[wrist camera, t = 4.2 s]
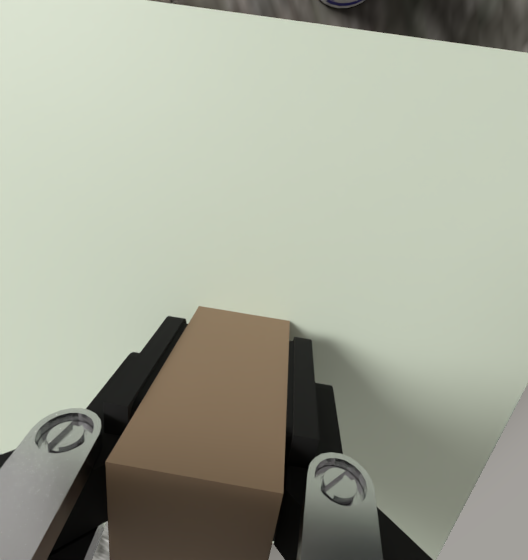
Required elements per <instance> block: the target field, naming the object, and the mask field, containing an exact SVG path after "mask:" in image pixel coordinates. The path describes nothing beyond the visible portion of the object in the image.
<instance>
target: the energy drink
mask: <svg viewBox="0 0 528 560" xmlns="http://www.w3.org/2000/svg"><path fill="white" fill-rule="evenodd" d="M321 1H322V2H323V3H325V4H327V5H329V6H331V7H335V8H349V7H353V6H356V5H358V4H360V3H362V2H364V1H365V0H321Z"/></svg>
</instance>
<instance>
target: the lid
mask: <svg viewBox="0 0 528 560" xmlns="http://www.w3.org/2000/svg"><path fill="white" fill-rule="evenodd" d="M167 316H173V317H179V318H185V319H186V322H187V324H188V325H187V327H186V328H185V330H184V332H183V333H182V335H181V337H180V338H179V340H178V342H177V343H176V345H175V347H174V348H173V350H172V352H171V353H170V355H169V357H168V358H167V360H166V362H165V363H164V365H163V367H162V368H161V370H160V372H159V373H158V375H157V377H156V378H155V380H154V382H153V383H152V385H151V387H150V388H149V390H148V392H147V393H146V395H145V397H144V398H143V400H142V402H141V403H140V405H139V407H138V408H137V410H136V412H135V413H134V415H133V417H132V418H131V420H130V422H129V423H128V425H127V427H126V428H125V430H124V432H123V433H122V435H121V437H120V438H119V440H118V442H117V443H116V445H115V447H114V448H113V450H112V452H111V453H110V455H109V457H108V458H107V460H106V462H105V465H106V487H107V509H108V530H109V552H110V560H268V559H269V554H270V550H271V545H272V543H274V541H273V537H274V533H275V528H276V524H277V519H278V515H279V511H280V506H281V502H282V498H283V491H284V464H285V437H286V410H287V383H288V356H289V340H290V341H293V339H294V337H299V338H305V339H311V340H312V349H313V362H314V375H315V383H320V384H326V385H331V386H332V387H333V391H334V397H335V404H336V411H337V417H338V424H339V431H340V437H341V444H342V451H343V455H345V456H348V457H350V458H352V459H353V460H355V461H356V462H358V463H359V464H360V465H361V466H362V467H363V468H364V469H365V470H366V471H367V473H368V474H369V476H370V478H371V479H372V482H373V486H374V489H375V497H376V505H377V507H378V508H379V509H380V510H381V511H382V512H383V513H384V514H385V515H386V516H387V517H389V518H390V519H391V520H392V521H393V522H394V523H395V524H396V525H397V526H398V527H399V528H400V529H401V530H402V531H403V532H404V533H405V534H406V535H408V536H409V537H410V538H411V539H412V540H413V541H414V542H415V543H416V544H417V545H418V546H419V547H420V548H421V549H422V550H423V551H424V552H425V553H427V554H428V555H429V556H430V557H431V558H432V559H433V560H436V559H437V557H438V555H439V554H440V551H441V550H442V548H443V546H444V544H445V542H446V540H447V538H448V536H449V534H450V532H451V530H452V528H453V527H454V524H455V522H456V521H457V519H458V517H459V515H460V513H461V511H462V509H463V507H464V505H465V503H466V501H467V500H468V498H469V496H470V494H471V492H472V490H473V488H474V486H475V484H476V482H477V480H478V478H479V477H480V474H481V473H482V471H483V469H484V467H485V465H486V463H487V461H488V459H489V457H490V455H491V453H492V452H493V449H494V448H495V446H496V444H497V442H498V440H499V438H500V436H501V434H502V432H503V430H504V428H505V426H506V424H507V422H508V421H509V419H510V417H511V415H512V413H513V411H514V409H515V407H516V405H517V403H518V401H519V400H520V398H521V396H522V394H523V392H524V390H525V388H526V386H527V384H528V53H525V52H517V51H510V50H503V49H496V48H489V47H481V46H474V45H467V44H460V43H452V42H445V41H438V40H431V39H423V38H416V37H409V36H402V35H395V34H387V33H380V32H373V31H366V30H358V29H351V28H344V27H337V26H330V25H322V24H315V23H308V22H301V21H293V20H286V19H279V18H272V17H265V16H257V15H250V14H243V13H236V12H228V11H221V10H214V9H207V8H199V7H192V6H185V5H178V4H171V3H163V2H156V1H149V0H0V453H1V454H4V453H7V452H9V451H12V450H15V449H16V448H17V447H18V445H19V444H20V443H21V442H22V440H23V439H24V438H25V437H26V435H27V434H28V433H29V431H30V430H31V429H32V428H33V427H34V426H35V425H36V424H37V423H38V422H39V421H40V420H42V419H43V418H45V417H47V416H48V415H50V414H53V413H55V412H58V411H60V410H65V409H70V408H83V409H86V408H87V407H88V405H89V404H90V403H91V402H92V400H93V399H94V398H95V397H96V395H97V394H98V393H99V392H100V390H101V389H102V388H103V387H104V385H105V384H106V383H107V381H108V380H109V379H110V378H111V376H112V375H113V374H114V373H115V371H116V370H117V369H118V368H119V366H120V365H121V364H122V363H123V361H124V360H125V359H126V358H127V356H128V355H129V354H130V353H132V352H137V353H140V352H141V351H142V349H143V348H144V347H145V345H146V344H147V343H148V341H149V340H150V339H151V337H152V336H153V335H154V333H155V332H156V331H157V329H158V328H159V327H160V325H161V324H162V323H163V321H164V320H165V319H166V317H167Z"/></svg>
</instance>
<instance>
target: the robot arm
mask: <svg viewBox="0 0 528 560" xmlns="http://www.w3.org/2000/svg"><path fill="white" fill-rule="evenodd" d="M187 325H188V324H187V322H186V319H185V318H179V317H173V316H167V317H166V319H165V320H164V321H163V323H162V324H161V325H160V327H159V328H158V329H157V331H156V332H155V333H154V335H153V336H152V337H151V339H150V340H149V341H148V343H147V344H146V345H145V347H144V348H143V349H142V351H141V352H140V353H137V352H132V353H130V354H129V355H128V356H127V358H126V359H125V360H124V361H123V363H122V364H121V365H120V366H119V368H118V369H117V370H116V371H115V373H114V374H113V375H112V376H111V378H110V379H109V380H108V381H107V383H106V384H105V385H104V387H103V388H102V389H101V390H100V392H99V393H98V394H97V395H96V397H95V398H94V399H93V400H92V402H91V403H90V404H89V405H88V407H87V408H86V409H83V408H70V409H65V410H60V411H58V412H55V413H53V414H50V415H48V416H47V417H45V418H43V419H42V420H40V421H39V422H38V423H37V424H36V425H35V426H34V427H33V428H32V429H31V430H30V431H29V433H28V434H27V435H26V437H25V438H24V439H23V440H22V442H21V443H20V444H19V445H18V447H17V448H16V449H15V450H12V451H9V452H7V453H4V454H1V455H0V560H92V559H93V556H94V553H95V551H96V548H97V546H98V543H99V541H100V538H101V536H102V533H103V531H104V527H105V523H106V521H108V509H107V487H106V465H105V462H106V460H107V458H108V457H109V455H110V453H111V452H112V450H113V448H114V447H115V445H116V443H117V442H118V440H119V438H120V437H121V435H122V433H123V432H124V430H125V428H126V427H127V425H128V423H129V422H130V420H131V418H132V417H133V415H134V413H135V412H136V410H137V408H138V407H139V405H140V403H141V402H142V400H143V398H144V397H145V395H146V393H147V392H148V390H149V388H150V387H151V385H152V383H153V382H154V380H155V378H156V377H157V375H158V373H159V372H160V370H161V368H162V367H163V365H164V363H165V362H166V360H167V358H168V357H169V355H170V353H171V352H172V350H173V348H174V347H175V345H176V343H177V342H178V340H179V338H180V337H181V335H182V333H183V332H184V330H185V328H186V327H187ZM273 541H274V545H275V547H276V548H277V549H278V551H279V552H280V553H281V555H282V556H283V557H284V559H285V560H433V559H432V558H431V557H430V556H429V555H428V554H427V553H425V552H424V551H423V550H422V549H421V548H420V547H419V546H418V545H417V544H416V543H415V542H414V541H413V540H412V539H411V538H410V537H409V536H408V535H406V534H405V533H404V532H403V531H402V530H401V529H400V528H399V527H398V526H397V525H396V524H395V523H394V522H393V521H392V520H391V519H390V518H389V517H387V516H386V515H385V514H384V513H383V512H382V511H381V510H380V509H379V508H378V507H377V505H376V497H375V489H374V486H373V482H372V479H371V478H370V476H369V474H368V473H367V471H366V470H365V469H364V468H363V467H362V466H361V465H360V464H359V463H358V462H356V461H355V460H353V459H352V458H350V457H348V456H345V455H343V451H342V444H341V437H340V431H339V424H338V417H337V411H336V404H335V397H334V391H333V387H332V386H331V385H326V384H320V383H315V375H314V362H313V349H312V340H311V339H305V338H299V337H294V339H293V341H290V340H289V356H288V383H287V410H286V437H285V464H284V491H283V498H282V502H281V506H280V511H279V515H278V519H277V524H276V528H275V533H274V537H273Z"/></svg>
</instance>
